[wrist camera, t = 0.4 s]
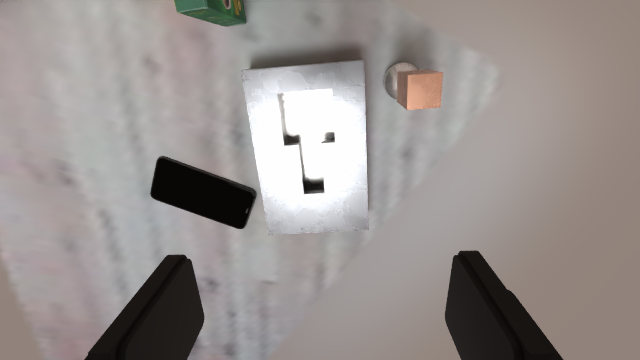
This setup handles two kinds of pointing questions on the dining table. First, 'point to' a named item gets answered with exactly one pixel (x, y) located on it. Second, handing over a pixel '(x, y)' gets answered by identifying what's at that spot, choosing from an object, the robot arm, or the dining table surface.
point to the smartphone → (202, 193)
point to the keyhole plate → (310, 145)
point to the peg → (413, 86)
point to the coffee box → (213, 11)
